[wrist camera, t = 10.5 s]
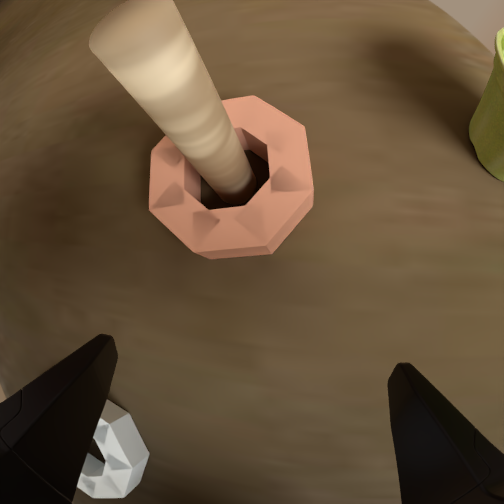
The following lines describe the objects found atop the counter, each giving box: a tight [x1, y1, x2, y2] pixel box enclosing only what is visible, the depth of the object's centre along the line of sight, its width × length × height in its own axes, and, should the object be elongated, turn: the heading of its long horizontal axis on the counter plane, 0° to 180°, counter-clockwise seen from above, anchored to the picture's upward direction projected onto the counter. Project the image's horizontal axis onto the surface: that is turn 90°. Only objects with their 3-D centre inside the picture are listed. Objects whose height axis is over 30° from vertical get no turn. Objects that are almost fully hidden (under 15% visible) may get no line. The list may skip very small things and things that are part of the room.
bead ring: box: [149, 95, 314, 259], centre depth 18 cm, size 9×9×3 cm
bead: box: [77, 399, 150, 498], centre depth 18 cm, size 8×8×3 cm
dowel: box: [89, 0, 257, 205], centre depth 13 cm, size 3×3×14 cm
